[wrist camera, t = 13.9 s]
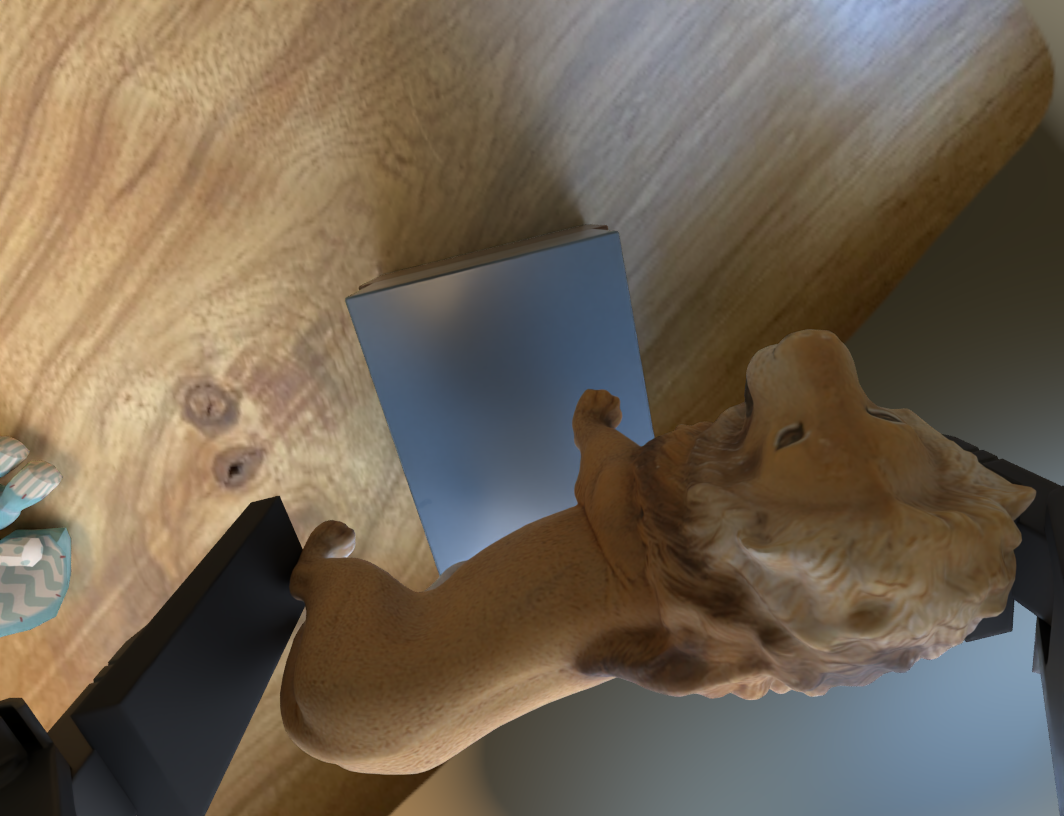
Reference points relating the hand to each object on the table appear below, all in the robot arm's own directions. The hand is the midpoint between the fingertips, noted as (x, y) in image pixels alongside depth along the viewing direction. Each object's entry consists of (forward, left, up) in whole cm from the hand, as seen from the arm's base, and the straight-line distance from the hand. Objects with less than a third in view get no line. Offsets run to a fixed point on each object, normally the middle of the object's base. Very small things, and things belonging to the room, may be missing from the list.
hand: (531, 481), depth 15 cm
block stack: (0, 0, -11) cm, 11 cm away
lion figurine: (0, 0, -1) cm, 1 cm away
